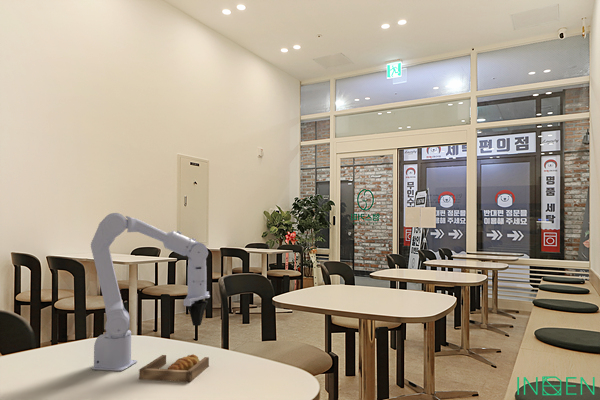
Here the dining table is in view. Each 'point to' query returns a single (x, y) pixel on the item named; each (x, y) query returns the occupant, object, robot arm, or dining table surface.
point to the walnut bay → (171, 371)
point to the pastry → (184, 363)
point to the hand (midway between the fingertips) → (196, 325)
